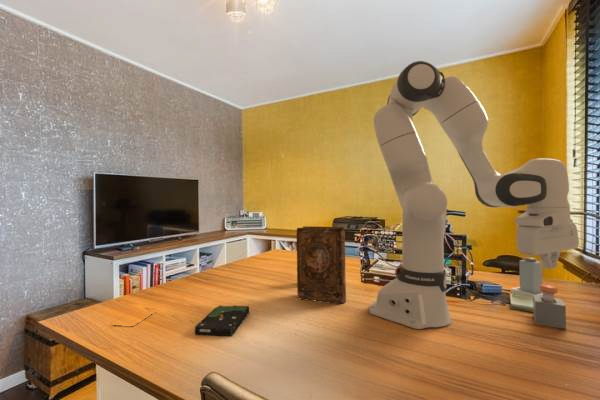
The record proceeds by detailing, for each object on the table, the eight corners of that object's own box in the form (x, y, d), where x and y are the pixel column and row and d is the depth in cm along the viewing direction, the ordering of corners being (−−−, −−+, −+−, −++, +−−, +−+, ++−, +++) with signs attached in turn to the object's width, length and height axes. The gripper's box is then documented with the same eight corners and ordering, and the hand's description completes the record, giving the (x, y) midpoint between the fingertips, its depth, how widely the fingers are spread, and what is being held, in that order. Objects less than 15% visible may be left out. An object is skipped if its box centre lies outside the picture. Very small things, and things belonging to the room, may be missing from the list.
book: (347, 299, 95) (346, 227, 95) (343, 305, 90) (342, 228, 90) (303, 293, 101) (302, 226, 101) (297, 299, 96) (296, 227, 96)
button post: (535, 323, 75) (535, 301, 75) (533, 315, 80) (533, 294, 80) (566, 329, 71) (565, 305, 71) (561, 320, 76) (561, 298, 76)
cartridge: (519, 294, 97) (519, 257, 97) (528, 292, 98) (527, 256, 98) (534, 298, 93) (533, 260, 93) (542, 296, 94) (541, 258, 94)
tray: (511, 308, 85) (511, 303, 85) (510, 298, 93) (509, 293, 93) (554, 315, 79) (554, 310, 79) (549, 304, 87) (549, 299, 87)
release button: (540, 308, 75) (540, 287, 75) (539, 303, 78) (538, 283, 78) (558, 311, 73) (558, 289, 73) (556, 306, 76) (556, 285, 76)
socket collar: (510, 293, 98) (510, 288, 98) (526, 290, 100) (525, 285, 100) (536, 301, 90) (536, 295, 90) (552, 297, 93) (552, 292, 93)
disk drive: (232, 339, 71) (249, 314, 85) (232, 328, 71) (249, 305, 85) (194, 337, 72) (217, 313, 87) (194, 327, 72) (217, 304, 87)
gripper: (557, 215, 82) (559, 261, 82) (510, 219, 75) (512, 270, 75) (585, 215, 76) (587, 265, 76) (536, 220, 69) (539, 275, 69)
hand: (550, 268), depth 75 cm, fingers closed
